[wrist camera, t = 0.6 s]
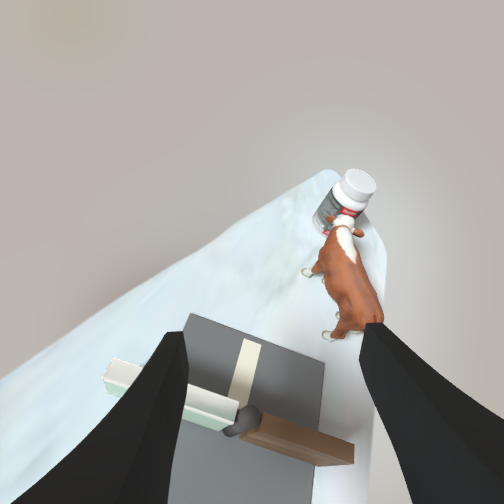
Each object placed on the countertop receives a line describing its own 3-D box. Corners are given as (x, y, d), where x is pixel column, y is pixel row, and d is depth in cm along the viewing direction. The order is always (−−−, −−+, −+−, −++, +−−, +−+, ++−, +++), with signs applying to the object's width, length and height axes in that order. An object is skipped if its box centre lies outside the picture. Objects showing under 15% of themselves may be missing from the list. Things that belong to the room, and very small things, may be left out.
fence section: (318, 468, 26) (357, 465, 21) (219, 434, 25) (238, 424, 21) (320, 448, 27) (357, 442, 22) (224, 415, 26) (243, 401, 22)
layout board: (303, 553, 23) (305, 554, 22) (114, 493, 22) (114, 493, 21) (323, 364, 31) (324, 363, 31) (189, 314, 30) (190, 312, 30)
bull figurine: (324, 247, 41) (359, 204, 34) (355, 352, 33) (407, 322, 27) (293, 244, 39) (324, 199, 33) (318, 353, 32) (364, 322, 26)
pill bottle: (321, 242, 41) (357, 197, 35) (305, 214, 43) (335, 167, 37) (349, 237, 43) (387, 193, 37) (331, 210, 45) (365, 165, 39)
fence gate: (223, 413, 26) (239, 401, 22) (217, 432, 25) (233, 423, 21) (116, 376, 25) (113, 357, 21) (107, 394, 24) (102, 378, 20)
